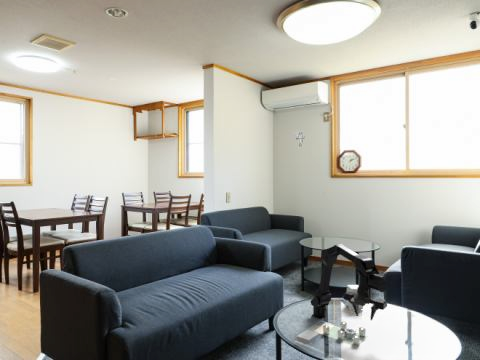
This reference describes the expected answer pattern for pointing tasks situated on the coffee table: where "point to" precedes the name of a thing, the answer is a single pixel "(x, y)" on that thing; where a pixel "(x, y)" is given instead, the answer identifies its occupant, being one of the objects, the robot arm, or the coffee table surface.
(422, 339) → the coffee table surface
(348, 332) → the gear
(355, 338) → the spacer field
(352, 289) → the supplement box
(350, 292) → the robot arm
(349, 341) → the mat
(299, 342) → the coffee table surface
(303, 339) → the coffee table surface
